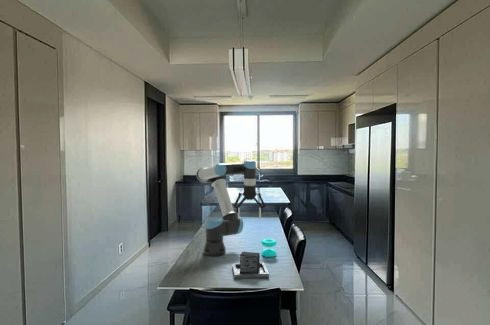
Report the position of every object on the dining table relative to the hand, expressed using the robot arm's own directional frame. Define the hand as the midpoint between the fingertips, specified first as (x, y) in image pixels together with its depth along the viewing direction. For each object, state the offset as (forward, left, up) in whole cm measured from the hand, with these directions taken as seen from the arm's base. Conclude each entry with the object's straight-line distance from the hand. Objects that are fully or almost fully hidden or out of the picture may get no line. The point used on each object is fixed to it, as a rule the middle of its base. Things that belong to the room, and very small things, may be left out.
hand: (249, 218), depth 205 cm
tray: (-2, -21, -27) cm, 34 cm away
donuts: (+14, +7, -27) cm, 31 cm away
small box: (-2, -21, -26) cm, 34 cm away
